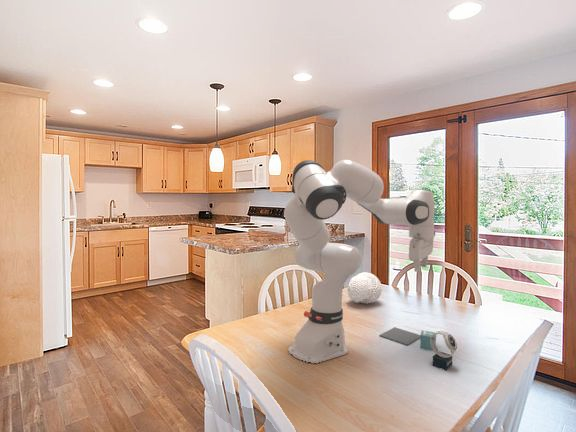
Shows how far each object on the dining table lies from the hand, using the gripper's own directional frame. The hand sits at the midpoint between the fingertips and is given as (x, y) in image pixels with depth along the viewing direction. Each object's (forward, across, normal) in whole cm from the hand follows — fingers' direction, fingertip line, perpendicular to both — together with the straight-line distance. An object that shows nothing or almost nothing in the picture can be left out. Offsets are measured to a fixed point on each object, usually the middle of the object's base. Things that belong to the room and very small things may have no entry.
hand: (420, 269), depth 126 cm
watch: (+29, -13, -11) cm, 33 cm away
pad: (+29, +2, +8) cm, 30 cm away
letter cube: (+29, -1, -3) cm, 29 cm away
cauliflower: (+29, +32, +36) cm, 56 cm away
